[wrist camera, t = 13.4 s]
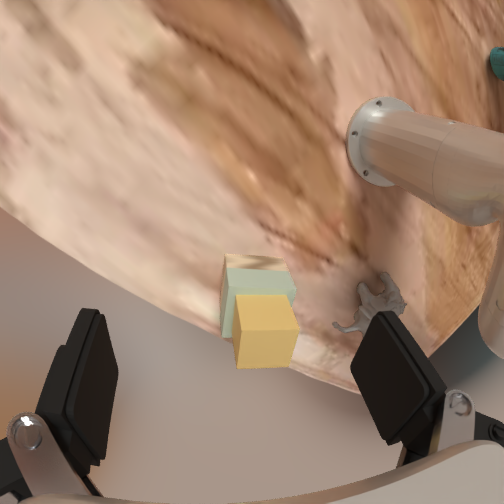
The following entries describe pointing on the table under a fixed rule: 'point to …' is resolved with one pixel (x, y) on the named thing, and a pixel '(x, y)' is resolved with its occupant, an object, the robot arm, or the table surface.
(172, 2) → the table surface
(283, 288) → the pale green square block
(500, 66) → the beverage bottle
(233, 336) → the block
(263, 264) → the tower base
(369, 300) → the gray elephant figurine
